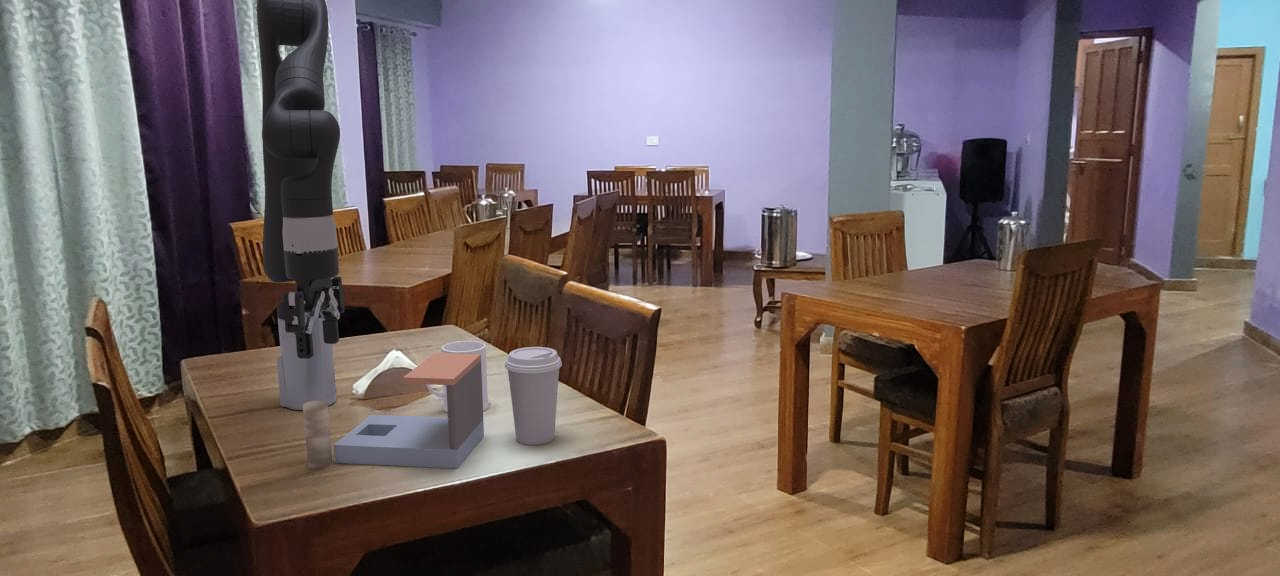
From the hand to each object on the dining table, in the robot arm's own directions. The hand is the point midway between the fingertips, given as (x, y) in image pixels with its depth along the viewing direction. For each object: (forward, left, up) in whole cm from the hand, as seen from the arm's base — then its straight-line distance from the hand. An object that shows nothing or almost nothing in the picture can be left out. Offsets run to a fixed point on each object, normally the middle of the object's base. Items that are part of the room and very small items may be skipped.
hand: (319, 350), depth 129 cm
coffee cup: (+30, +14, -19) cm, 38 cm away
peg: (-1, -1, -19) cm, 19 cm away
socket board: (+11, +7, -19) cm, 23 cm away
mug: (+12, +27, -19) cm, 35 cm away
